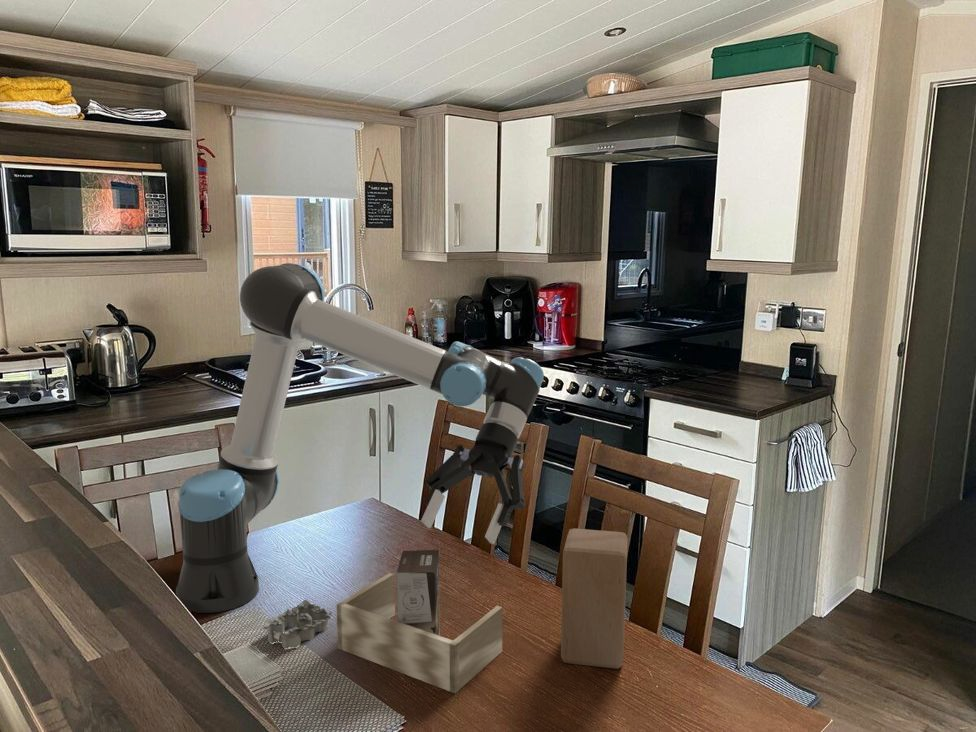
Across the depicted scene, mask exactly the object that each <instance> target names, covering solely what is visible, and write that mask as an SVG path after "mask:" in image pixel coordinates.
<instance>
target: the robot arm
mask: <svg viewBox="0 0 976 732" xmlns="http://www.w3.org/2000/svg"><path fill="white" fill-rule="evenodd" d="M325 297H326V295H325V287H324V285H323V282H322V281H321V279H320V277H319V276H318V275H317V274H316V273H315V272H314V271H313V270H312V269H311V268H309V267H307V266H304V265H301V264H298V263H297V264H296V263H292V262H290V263H289V262H288V263H287V262H286V263H282V264H279V265H269V266H263V267H260V268H258V269H256V270H254V271H253V272H251V273H250V274H249V275H248V276H246V278H245V280H244V281H243V282H242V285H241V287H240V292H239V302H240V306H241V310H242V312H243V313H244V315H245V316H246V318H247V319H248V320H249V321H250V323H249V325H250V327H251V329H252V330H253V332H254V333H255V337H254V342H253V345H252V350H251V354H250V359H249V363H248V367H247V372H246V377H245V381H244V384H243V390H242V393H241V398H240V402H239V406H238V412H237V416H236V420H235V425H234V429H233V433H232V436H231V437H232V438H231V442H230V444H228V445H226V446H224V447H223V448H222V450H220V455H219V460H218V463H217V468H216V469H211V470H207V471H203V472H202V473H196V474H195V475H193V476H191V477H188V478H187V479H186V480H185V481H184V482H183V483H182V485H181V486H180V488H179V492H178V498H179V499H178V502H177V503H178V511H179V521H180V531H181V546H182V556H183V557H182V560H183V563H182V567H181V570H180V574H179V578H178V582H177V585H176V588H175V596H176V595H177V596H178V598H179V599H180V600H181V601H182V602H183V603H184V605H185V606H186V607H187V608H188V609H189V610H190V611H189V612H190V613H195V612H196V614H197V613H199V614H209V613H210V614H212V613H220V612H225V611H229V610H233V609H236V608H238V607H241V606H243V605H245V604H247V603H249V602H251V601H252V600H253V599H254V598H256V596H257V595H258V593H259V591H260V585H259V584H260V583H259V582H260V580H259V577H258V576H259V575H258V574H257V571H256V569H255V567H254V565H253V562H252V559H251V558H250V555H249V551H248V541H247V538H248V536H247V535H248V534H247V525H248V524H249V523H250V522H251V521H252V520H253V519H255V518H256V517H257V515H259V513H261V512H262V511H263V510H265V509H266V508H267V507H268V506H269V505H270V504H271V502H272V501H273V500H274V498H275V496H276V494H277V492H278V489H279V485H280V476H279V472H278V470H277V469H278V465H279V458H278V457H277V455H276V454H275V452H274V451H275V446H276V442H277V438H278V433H279V431H280V430H279V429H280V425H281V423H282V422H281V421H282V417H283V414H284V408H285V406H286V405H285V404H286V400H287V397H288V392H289V388H290V384H291V380H292V377H293V372H294V368H295V364H296V359H297V355H298V352H299V347H300V345H301V343H304V342H305V341H309V342H311V343H314V344H316V345H318V346H321V347H324V348H326V349H329V350H331V351H333V352H337V353H339V354H341V355H344V356H347V357H348V358H351V359H353V360H356V361H358V362H361V363H364V364H366V365H368V366H371V367H374V368H375V369H376V368H377V369H379V370H381V371H383V372H387V373H389V374H391V375H393V376H397V377H399V378H402V379H404V380H406V381H408V382H411V383H414V384H416V385H419V386H421V387H423V388H427V389H429V390H431V391H434V392H435V393H437V394H438V393H439V394H440V395H442V397H444V399H445V400H446V401H447V402H448V403H450V404H451V405H453V406H456V407H468V406H471V405H473V404H474V403H476V402H477V401H478V400H479V399H480V398H481V397H482V395H484V396H485V397H487V398H490V399H492V402H491V404H490V406H489V409H488V410H487V413H486V415H485V417H484V418H483V424H481V426H480V428H479V431H478V432H477V435H476V437H475V441H474V445H473V447H472V448H470V449H468V448H465V447H464V446H463V445H462V444H459V445H457V446H456V449H455V450H454V452H453V453H452V455H450V457H448V458H447V459H446V460H445V461H444V462H443V463H442V464H441V465H440V466H438V468H437V469H435V471H434V472H433V473H432V474H431V475H429V477H428V478H427V479H425V484H426V485H427V487H429V489H430V490H431V491H430V492H429V495H428V497H427V500H426V502H425V505H426V509H425V511H424V513H423V515H422V518H421V520H420V521H421V523H422V524H423V525H424V526H425V527H426V528H428V529H431V528H432V526H433V524H434V522H435V519H436V518H437V515H438V512H440V509H441V507H442V504H443V502H444V499H445V495H444V493H446V492H447V491H448V490H450V489H451V488H454V486H456V485H458V484H459V483H461V482H462V481H463V480H465V479H467V478H469V477H473V476H474V475H475V474H476V475H477V476H483V477H484V476H485V477H487V478H488V479H489V478H492V477H494V480H495V482H496V486H497V488H498V491H499V493H500V497H501V499H502V503H500V502H498V504H497V507H495V510H494V514H493V516H492V517H491V520H490V523H489V525H488V527H487V530H486V533H485V535H484V538H485V539H486V540H487V542H488V543H489V544H491V545H495V544H496V541H497V538H498V536H499V534H500V532H501V529H502V527H506V525H507V524H508V522H509V521H510V520H509V519H510V518H511V514H512V512H513V511H514V510H521V511H522V510H524V509H525V507H526V505H525V492H524V490H525V489H524V482H523V470H524V468H525V467H524V466H525V461H524V460H523V459H522V458H521V456H520V455H519V454H516V455H514V457H512V455H513V454H514V451H515V449H516V448H517V445H518V442H519V438H520V437H521V434H522V432H523V430H524V428H525V425H526V422H527V421H528V417H529V415H530V413H531V411H532V409H533V406H534V405H535V403H536V399H537V397H538V395H539V393H540V390H541V386H542V383H543V381H544V376H545V375H544V370H543V369H542V367H541V365H539V364H538V363H537V362H535V360H532V359H529V358H524V357H522V356H519V357H514V358H513V359H511V360H510V362H505V361H502V360H500V359H498V358H497V357H496V358H495V357H494V356H492V355H489V354H487V353H485V352H483V351H482V350H479V349H477V348H476V347H475V348H474V347H473V346H472V345H470V344H465V343H464V342H460V341H454V342H452V344H450V347H449V349H448V351H447V350H445V349H443V348H440V347H437V346H435V345H432V344H430V343H428V342H425V341H423V340H421V339H418V338H415V337H412V336H410V335H408V334H405V333H402V332H400V331H398V330H395V329H393V328H390V327H388V326H385V325H384V324H383V325H382V324H380V323H378V322H375V321H374V320H371V319H368V318H365V317H364V316H363V317H362V316H361V315H358V314H356V313H354V312H350V311H348V310H346V309H344V308H340V307H339V306H335V305H333V304H331V303H328V302H326V301H325ZM508 467H510V471H511V472H510V473H511V480H512V481H511V482H512V483H511V485H512V495H513V498H512V495H511V492H510V489H509V487H508V484H507V481H506V477H505V474H504V470H505V469H506V468H508ZM192 611H193V612H192Z"/></svg>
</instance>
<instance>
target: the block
mask: <svg viewBox="0 0 976 732" xmlns="http://www.w3.org/2000/svg"><path fill="white" fill-rule="evenodd" d="M627 563H628V536H627V534H626V533H625V532H622V531H610V530H596V529H587V528H570V529H569V530H568V533H567V536H566V539H565V544H564V547H563V552H562V576H561V577H562V579H561V581H562V583H561V588H562V589H561V623H560V624H561V630H560V631H561V632H560V635H561V636H560V657H561V659H562V662H564V663H566V664H573V665H581V666H582V665H583V666H588V667H589V666H590V667H591V666H592V667H599V668H607V669H615V670H617V669H620V668H621V666H622V665H623V662H624V647H625V646H624V643H625V624H626V623H625V618H626V616H625V615H626V596H627V595H626V591H627V590H626V588H627V567H628V566H627Z"/></svg>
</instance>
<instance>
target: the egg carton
mask: <svg viewBox="0 0 976 732" xmlns="http://www.w3.org/2000/svg"><path fill="white" fill-rule="evenodd" d="M332 615H333V613H332V612H331V611H330V612H328V611H327V610H326V609H325V608H321V606H319V605H317V604H315V603H312V602H310V601H309V600H307V599H304V600H302V601H301V602H300V603H299V604H298V605H296V606H295V607H292V608H291V609H290V608H287V610H285V611H284V612H282V613H281V614H279V615H277V616H276V617H272V618H268V619H267V620H266V621H265V624H263V627H262V630H263V631H267V643H268V642H271V643H273V642H276V641H277V642H278V641H279V642H282V644H281V648H282V647H284V648H288V647H297V646H298V645H300V646H301V645H302V642H304V641H312V640H313V639H314V638H315V634H316V633H318V632H326V631H327V630H329V627H328V625H329V622H328V620H331V616H332ZM287 628H292V629H289V630H288V633H287V632H286V633H285V632H284V631H285V629H287ZM283 632H284V633H283Z"/></svg>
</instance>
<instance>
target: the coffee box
mask: <svg viewBox="0 0 976 732" xmlns="http://www.w3.org/2000/svg"><path fill="white" fill-rule="evenodd" d="M439 552H440V551H439V550H438V549H423V550H419V549H417V550H402V553H401V555H400V556H401V557H400V560H399V563H398V567H397V570H396V592H397V594H396V595H397V596H396V597H397V598H396V599H397V600H396V601H397V605H396V606H397V607H396V609H397V622H400V623H403V624H406V625H409V626H412V627H415V628H418V629H421V630H424V631H427V632H429V633H432V634H435V635H438V636H441V635H440V634H441V633H440V631H441V630H440V622H441V621H440V565H439V563H440V559H439V558H440V557H439V555H440V553H439Z"/></svg>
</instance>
